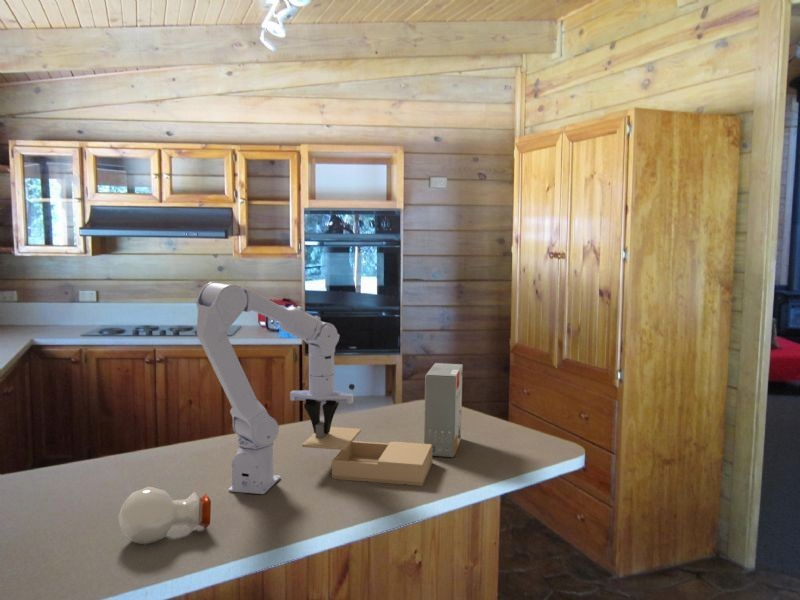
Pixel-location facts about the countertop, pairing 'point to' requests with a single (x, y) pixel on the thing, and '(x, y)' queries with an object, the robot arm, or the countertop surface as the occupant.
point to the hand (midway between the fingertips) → (322, 432)
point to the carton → (384, 462)
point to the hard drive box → (443, 408)
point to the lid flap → (331, 437)
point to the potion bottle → (161, 514)
